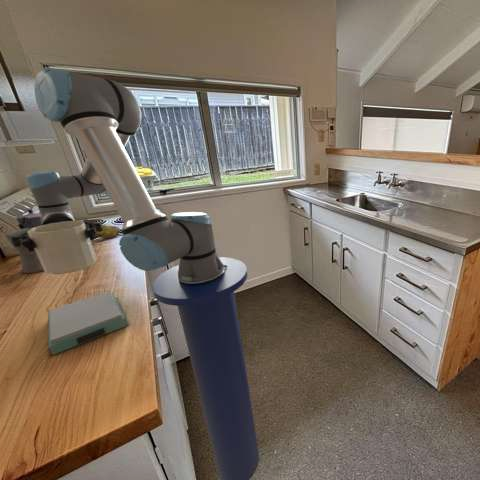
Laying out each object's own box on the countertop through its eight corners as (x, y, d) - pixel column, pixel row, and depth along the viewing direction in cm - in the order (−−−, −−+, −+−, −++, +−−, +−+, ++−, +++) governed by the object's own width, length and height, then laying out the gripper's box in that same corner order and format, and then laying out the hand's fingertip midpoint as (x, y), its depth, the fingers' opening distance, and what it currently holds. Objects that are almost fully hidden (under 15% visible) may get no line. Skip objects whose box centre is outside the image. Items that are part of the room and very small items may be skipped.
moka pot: (65, 246, 121) (49, 205, 114) (57, 257, 109) (38, 212, 102) (37, 251, 116) (18, 208, 109) (25, 263, 104) (3, 215, 97)
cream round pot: (95, 255, 81) (82, 218, 76) (99, 266, 73) (85, 226, 69) (45, 266, 73) (28, 226, 69) (45, 279, 66) (26, 236, 62)
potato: (123, 236, 134) (118, 222, 131) (91, 243, 126) (85, 227, 123) (120, 233, 140) (116, 219, 137) (90, 238, 131) (84, 224, 129)
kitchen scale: (115, 298, 79) (112, 289, 78) (127, 326, 66) (124, 316, 65) (51, 319, 70) (47, 309, 68) (52, 356, 57) (46, 345, 56)
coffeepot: (9, 274, 95) (-14, 228, 89) (34, 263, 104) (15, 220, 98) (53, 272, 96) (33, 226, 90) (73, 261, 105) (57, 219, 99)
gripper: (108, 227, 91) (120, 242, 77) (9, 244, 76) (0, 267, 61) (102, 206, 89) (112, 217, 74) (-2, 220, 73) (-15, 238, 59)
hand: (61, 240), depth 68 cm, fingers closed on cream round pot, 11 cm apart
